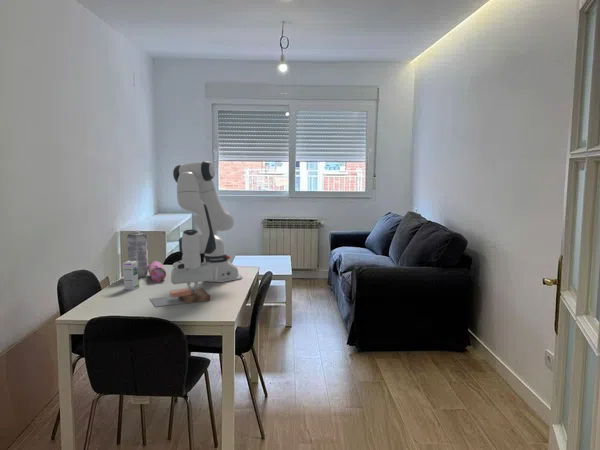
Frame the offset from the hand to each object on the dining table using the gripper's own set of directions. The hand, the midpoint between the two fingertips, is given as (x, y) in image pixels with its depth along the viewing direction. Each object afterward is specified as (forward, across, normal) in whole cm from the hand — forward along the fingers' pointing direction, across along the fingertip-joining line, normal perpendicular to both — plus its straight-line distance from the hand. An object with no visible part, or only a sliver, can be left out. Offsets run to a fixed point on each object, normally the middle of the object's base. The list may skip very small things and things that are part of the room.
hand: (192, 291), depth 254 cm
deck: (+4, -1, 0) cm, 4 cm away
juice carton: (+4, +16, -66) cm, 68 cm away
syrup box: (+4, +24, -36) cm, 44 cm away
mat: (+4, +12, 0) cm, 13 cm away
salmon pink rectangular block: (+1, +6, 0) cm, 6 cm away
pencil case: (+4, +8, -55) cm, 56 cm away
